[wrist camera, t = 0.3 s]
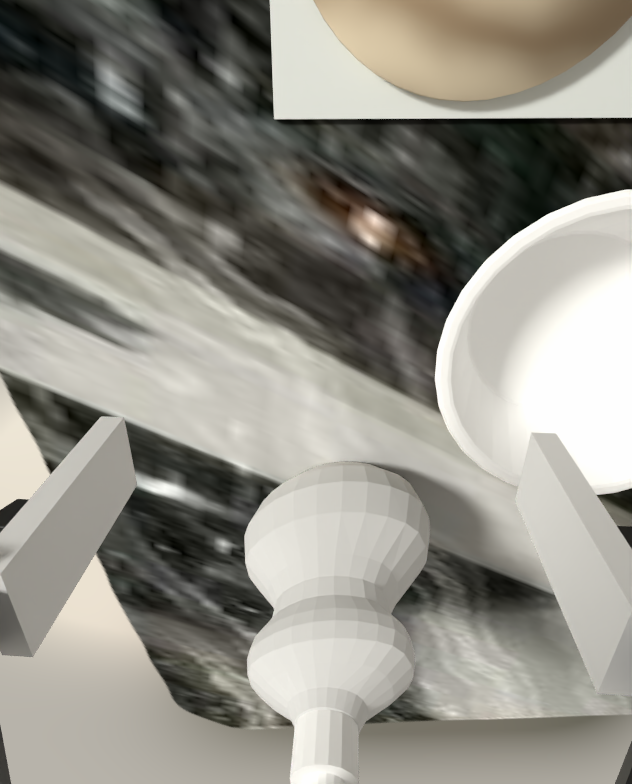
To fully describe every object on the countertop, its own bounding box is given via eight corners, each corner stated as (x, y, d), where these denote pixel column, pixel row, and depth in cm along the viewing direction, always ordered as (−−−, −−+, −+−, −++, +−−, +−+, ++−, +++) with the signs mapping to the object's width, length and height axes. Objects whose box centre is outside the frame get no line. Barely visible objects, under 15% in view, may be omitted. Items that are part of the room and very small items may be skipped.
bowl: (375, 271, 41) (379, 303, 34) (671, 111, 35) (757, 106, 27) (481, 474, 49) (504, 535, 42) (736, 375, 43) (816, 426, 36)
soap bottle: (408, 425, 47) (475, 790, 21) (432, 520, 52) (510, 911, 26) (239, 462, 50) (117, 818, 24) (277, 548, 55) (207, 921, 29)
